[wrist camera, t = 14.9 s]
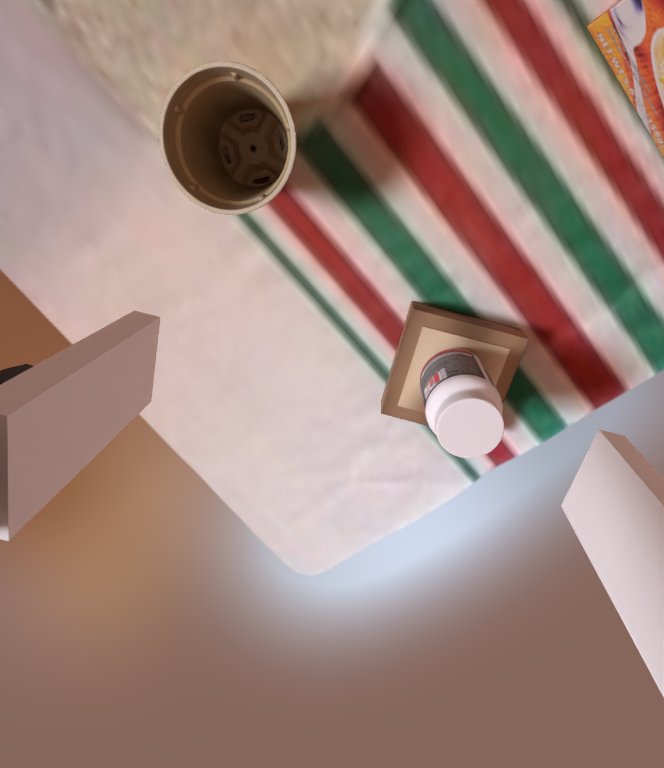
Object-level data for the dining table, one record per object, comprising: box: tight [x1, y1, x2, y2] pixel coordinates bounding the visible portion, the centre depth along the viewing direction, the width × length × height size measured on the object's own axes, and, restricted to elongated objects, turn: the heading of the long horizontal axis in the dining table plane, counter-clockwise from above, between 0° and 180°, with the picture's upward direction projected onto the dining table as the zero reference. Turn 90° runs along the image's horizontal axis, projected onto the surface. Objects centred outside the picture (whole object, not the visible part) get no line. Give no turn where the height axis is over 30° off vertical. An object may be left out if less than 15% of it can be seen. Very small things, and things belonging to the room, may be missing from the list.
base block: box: [381, 301, 529, 426], centre depth 47 cm, size 10×10×3 cm
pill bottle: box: [420, 348, 504, 458], centre depth 41 cm, size 6×6×10 cm
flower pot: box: [159, 61, 296, 215], centre depth 39 cm, size 9×9×9 cm
